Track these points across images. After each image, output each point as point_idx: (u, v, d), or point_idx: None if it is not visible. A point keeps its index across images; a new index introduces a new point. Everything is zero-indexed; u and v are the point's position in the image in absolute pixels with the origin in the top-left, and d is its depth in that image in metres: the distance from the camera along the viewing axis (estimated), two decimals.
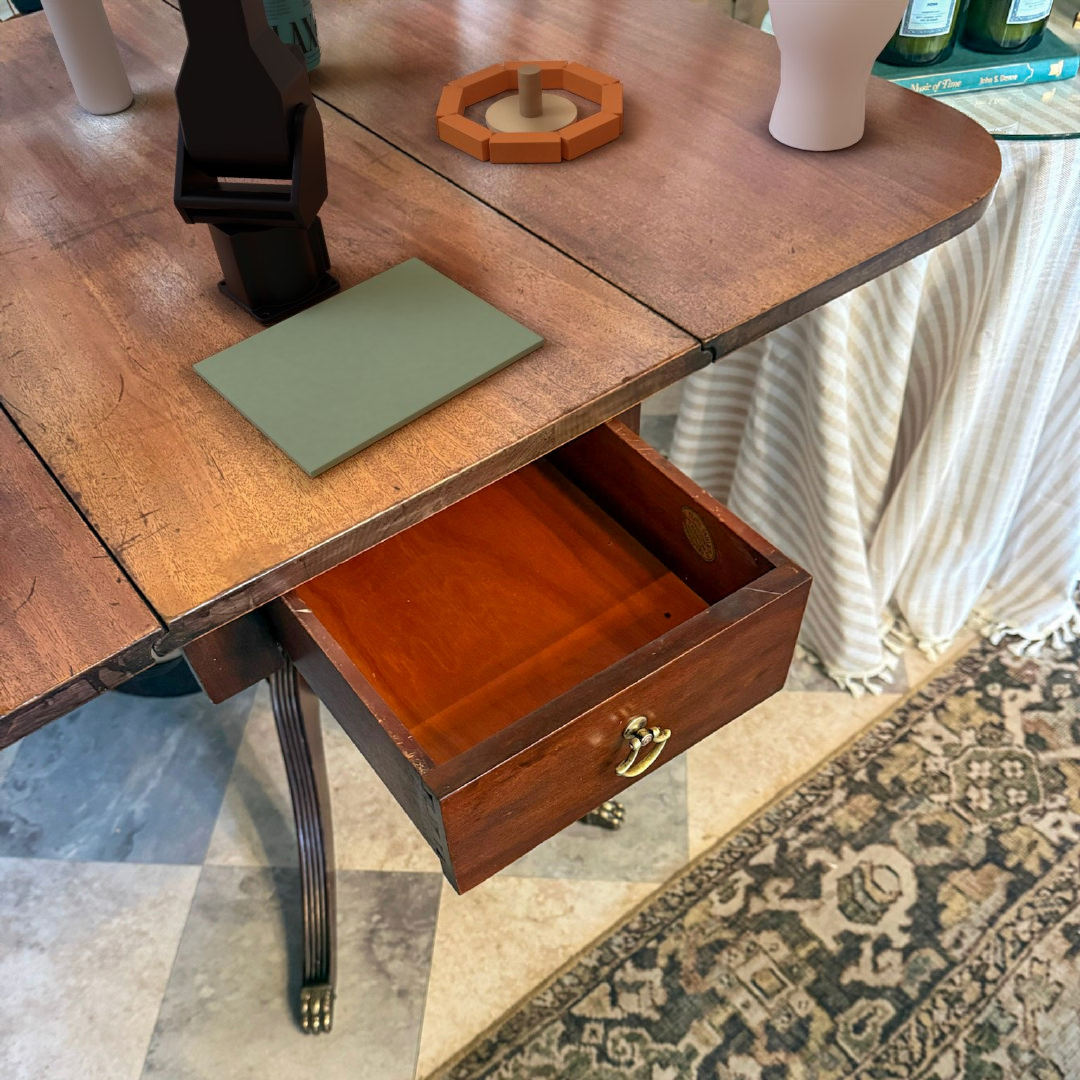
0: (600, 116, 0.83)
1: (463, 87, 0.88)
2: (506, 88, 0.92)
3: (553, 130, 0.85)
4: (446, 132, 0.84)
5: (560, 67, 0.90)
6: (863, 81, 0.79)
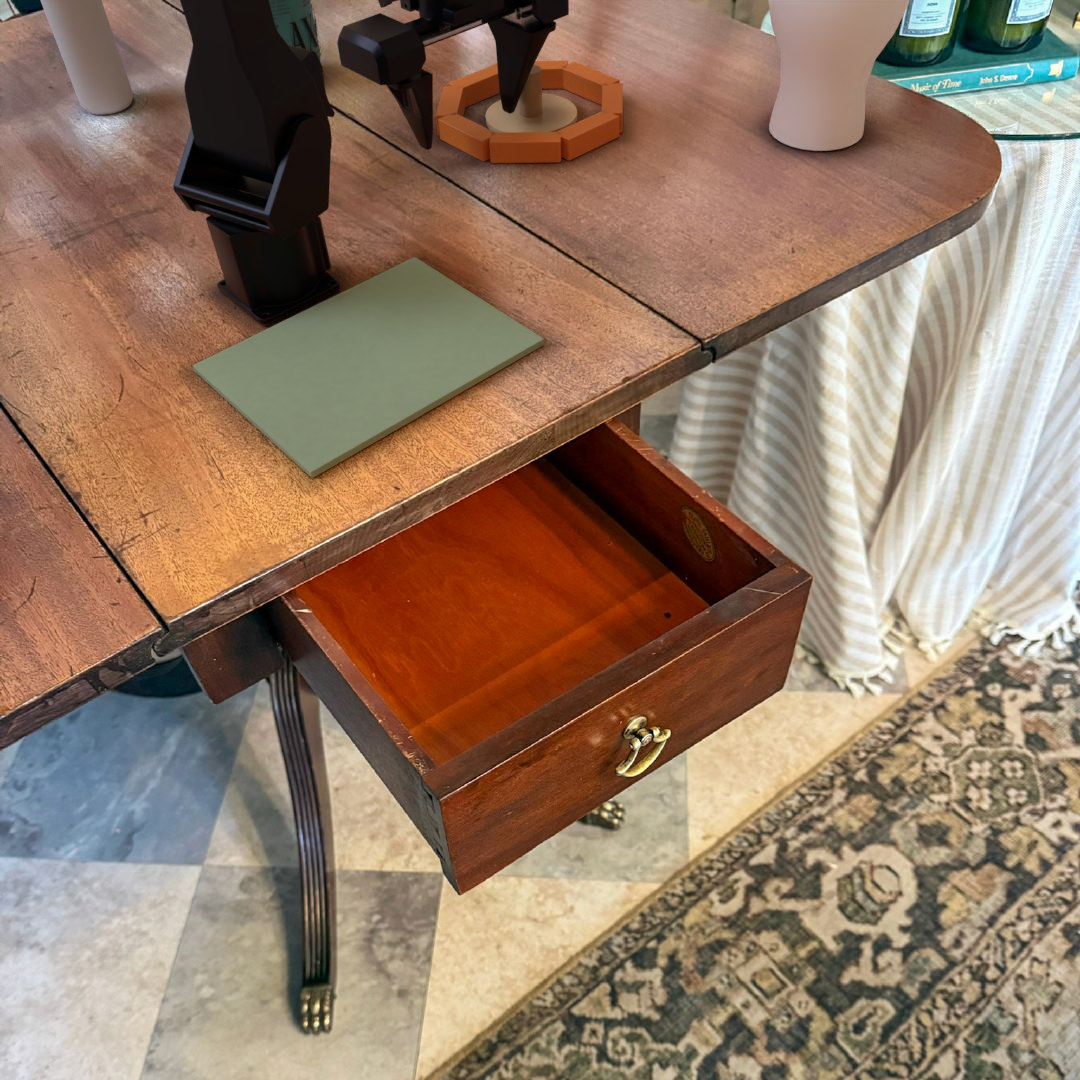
0: (600, 116, 0.83)
1: (463, 87, 0.88)
2: None
3: (553, 130, 0.85)
4: (446, 132, 0.84)
5: (560, 67, 0.90)
6: (863, 81, 0.79)
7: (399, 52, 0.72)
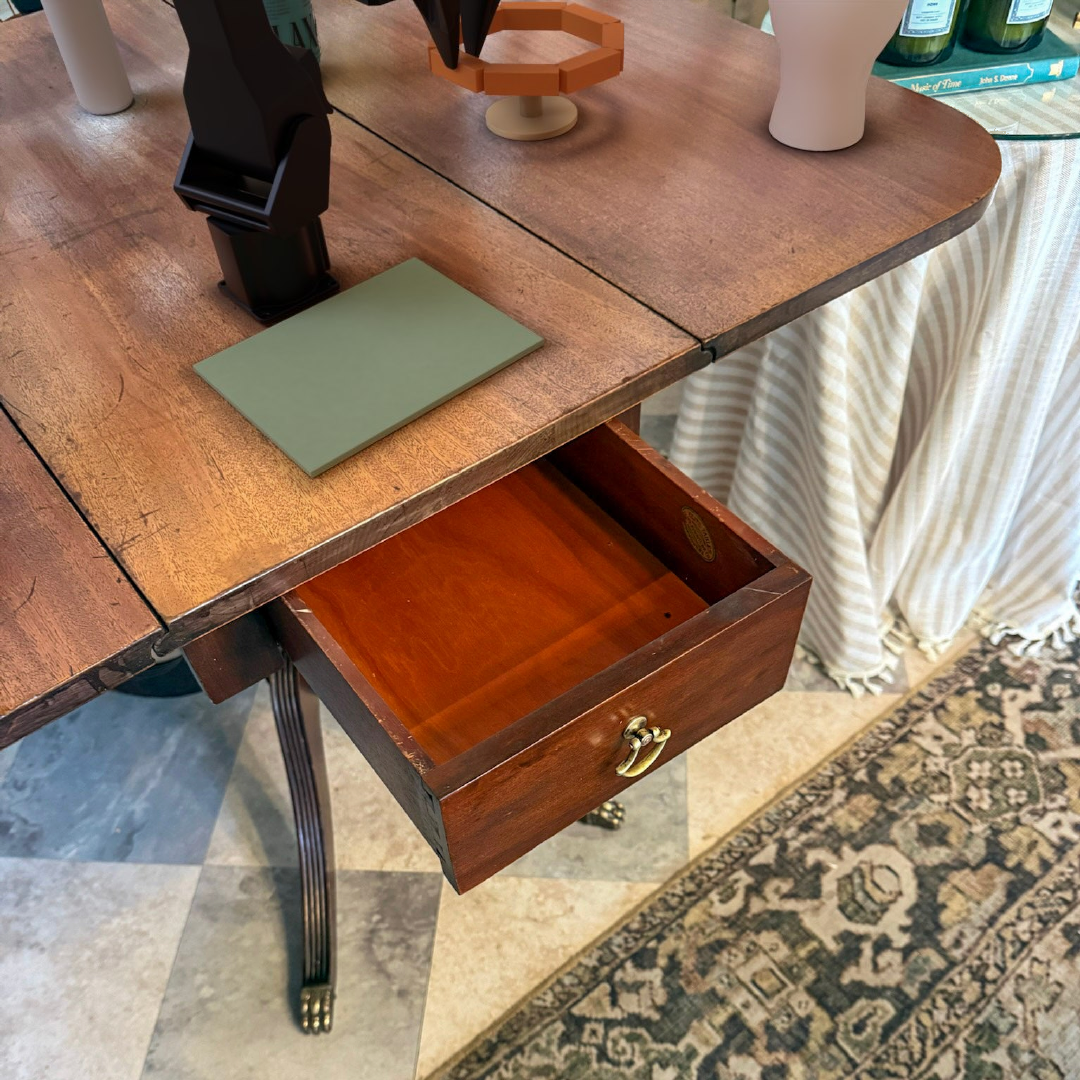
0: (600, 51, 0.80)
1: None
2: (502, 28, 0.88)
3: (553, 130, 0.85)
4: (438, 64, 0.80)
5: (559, 7, 0.87)
6: (863, 81, 0.79)
7: None
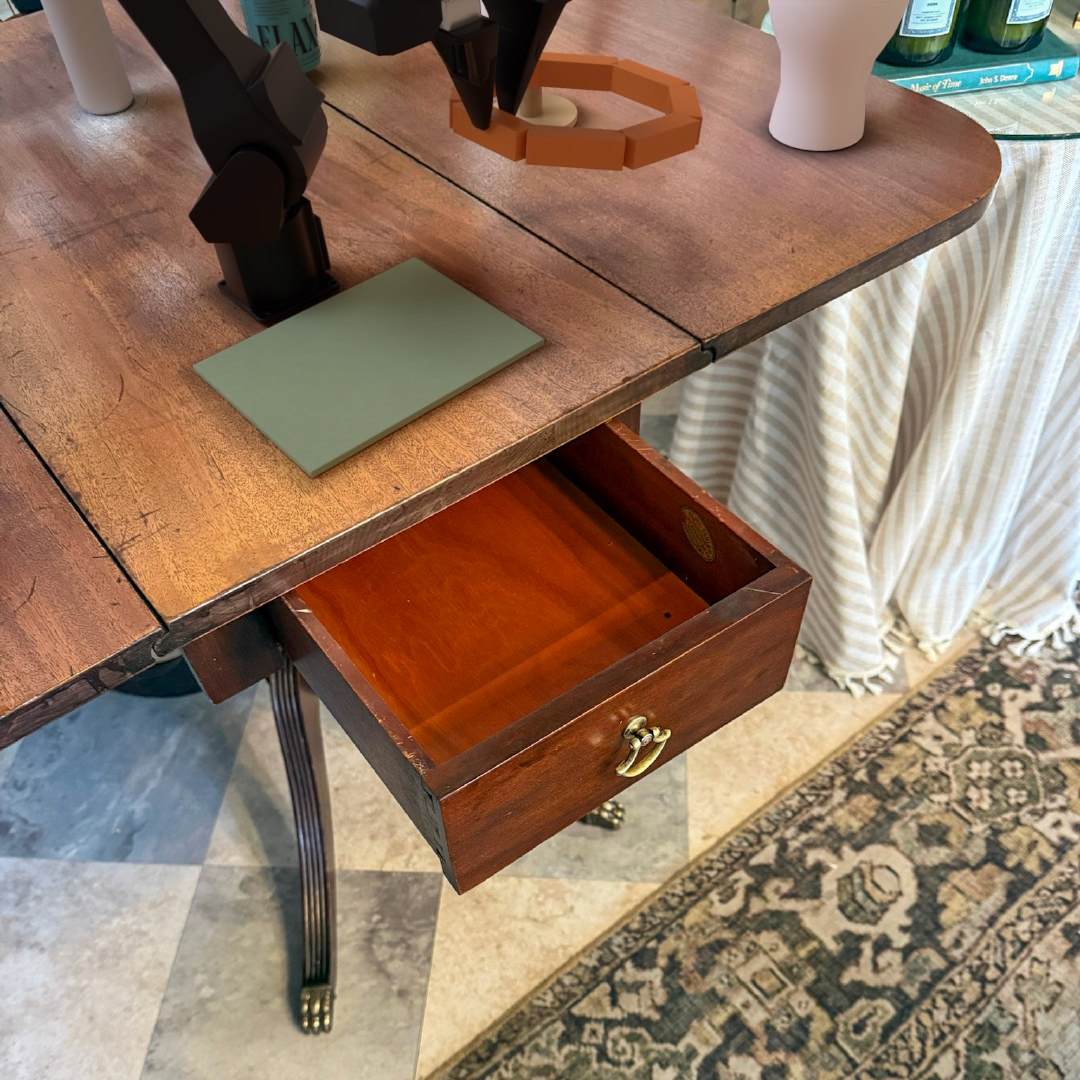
0: (674, 118, 0.62)
1: None
2: (536, 84, 0.70)
3: None
4: (463, 121, 0.62)
5: (609, 63, 0.69)
6: (863, 81, 0.79)
7: (405, 7, 0.49)
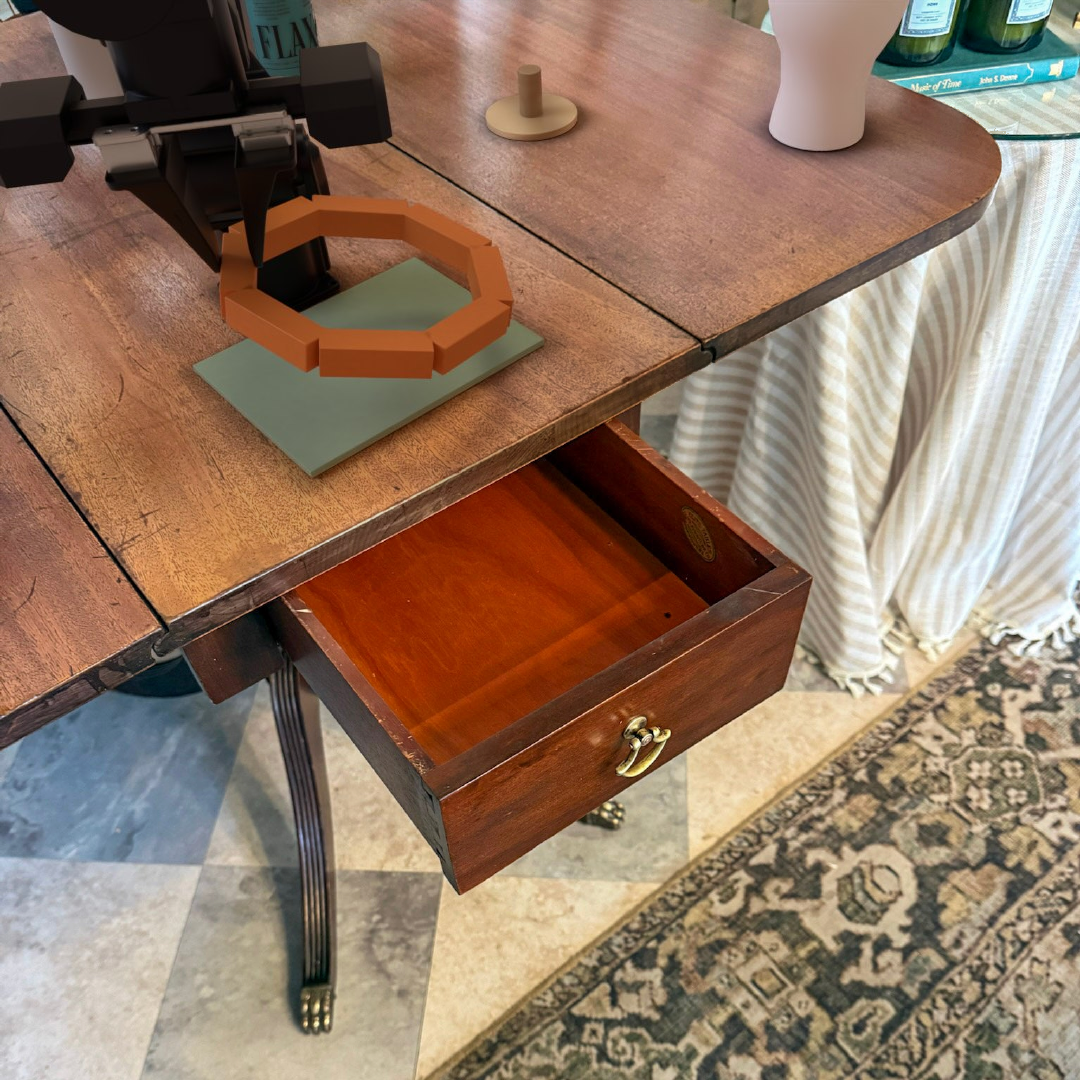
0: (410, 337, 0.52)
1: (320, 209, 0.60)
2: (399, 237, 0.62)
3: (553, 130, 0.85)
4: None
5: (468, 244, 0.60)
6: (863, 81, 0.79)
7: (15, 145, 0.45)
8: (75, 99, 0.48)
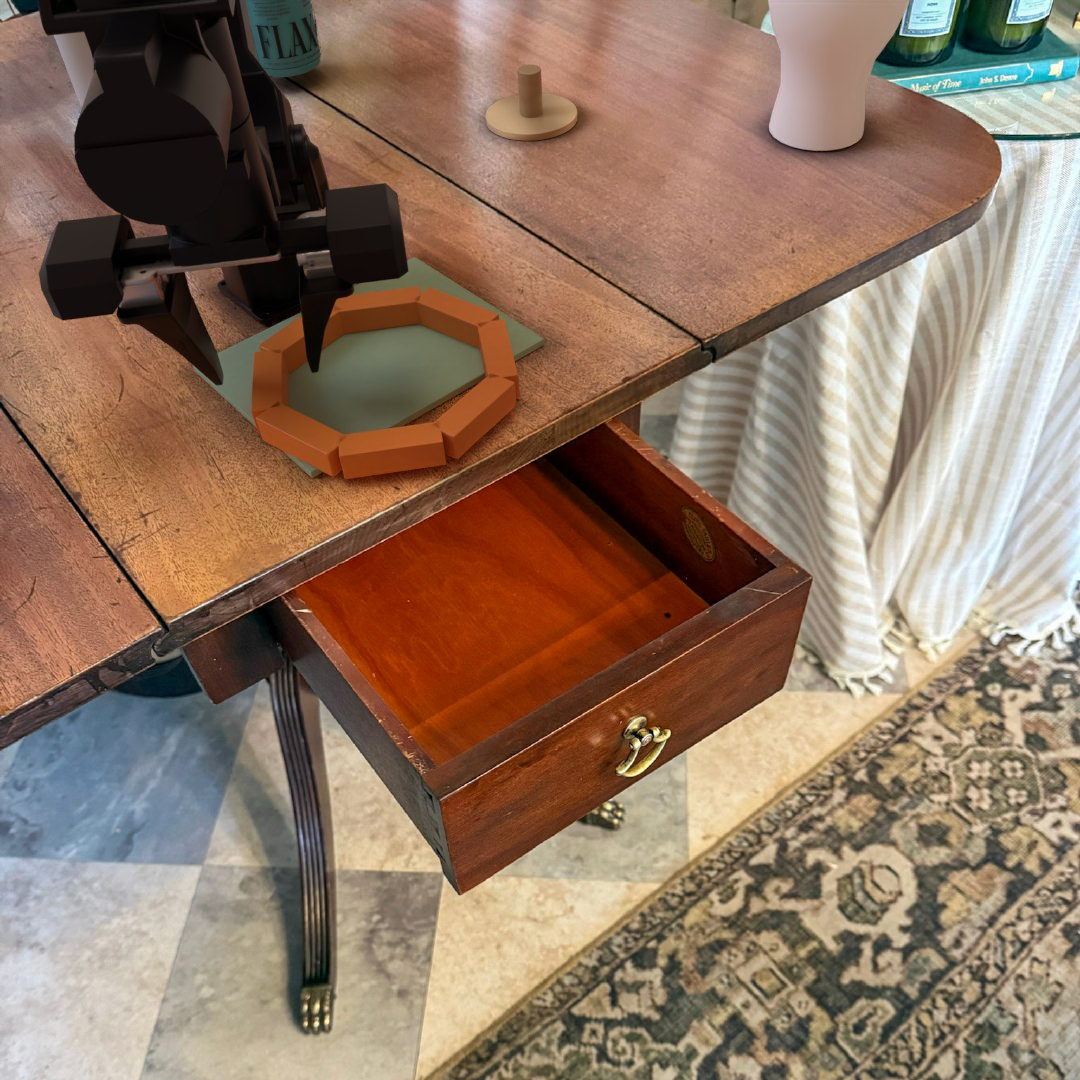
0: (421, 431, 0.57)
1: (340, 311, 0.65)
2: (416, 322, 0.66)
3: (553, 130, 0.85)
4: None
5: (476, 323, 0.63)
6: (863, 81, 0.79)
7: (71, 285, 0.51)
8: (124, 236, 0.54)
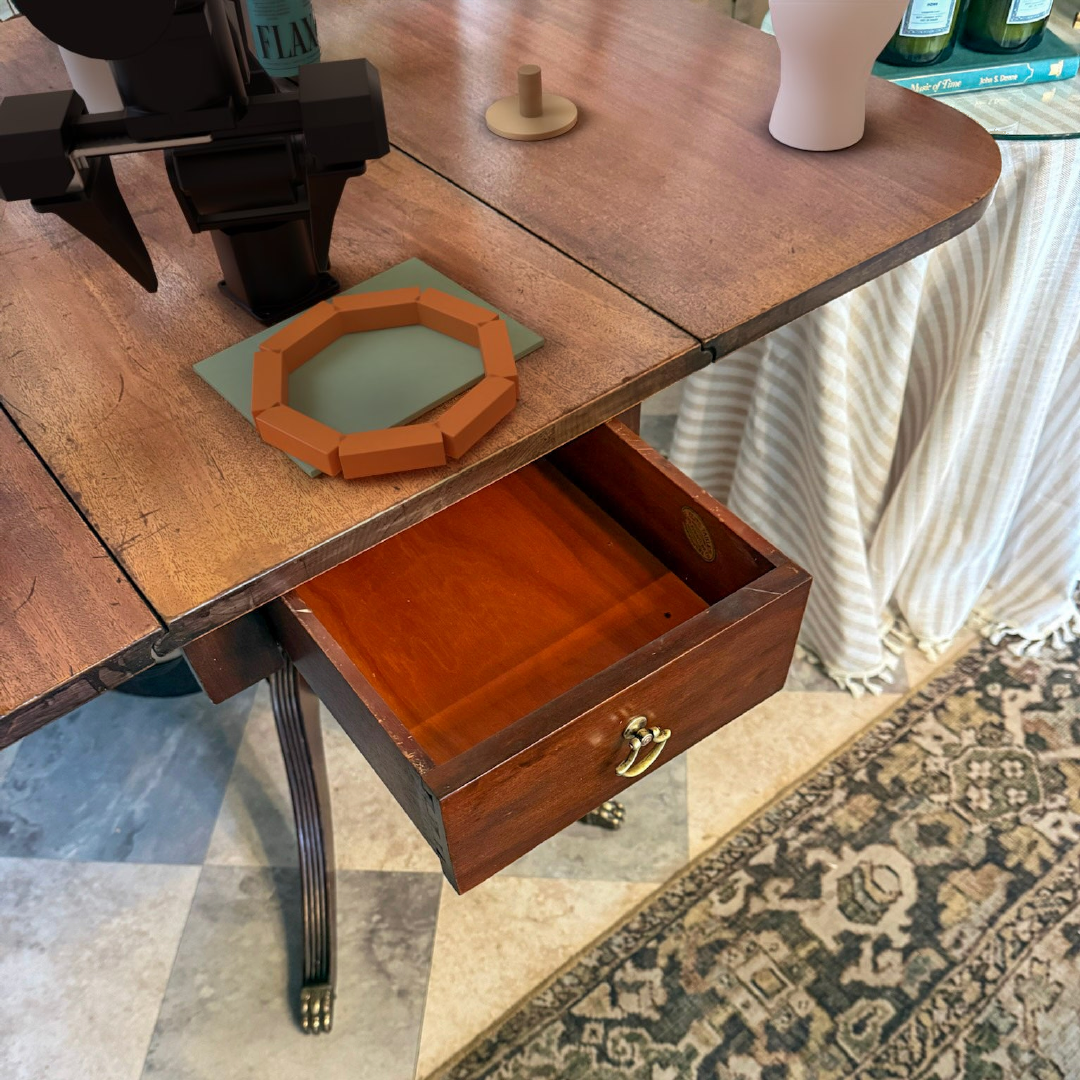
0: (421, 431, 0.57)
1: (340, 311, 0.65)
2: (416, 322, 0.66)
3: (553, 130, 0.85)
4: None
5: (476, 323, 0.63)
6: (863, 81, 0.79)
7: (16, 159, 0.46)
8: (76, 113, 0.49)
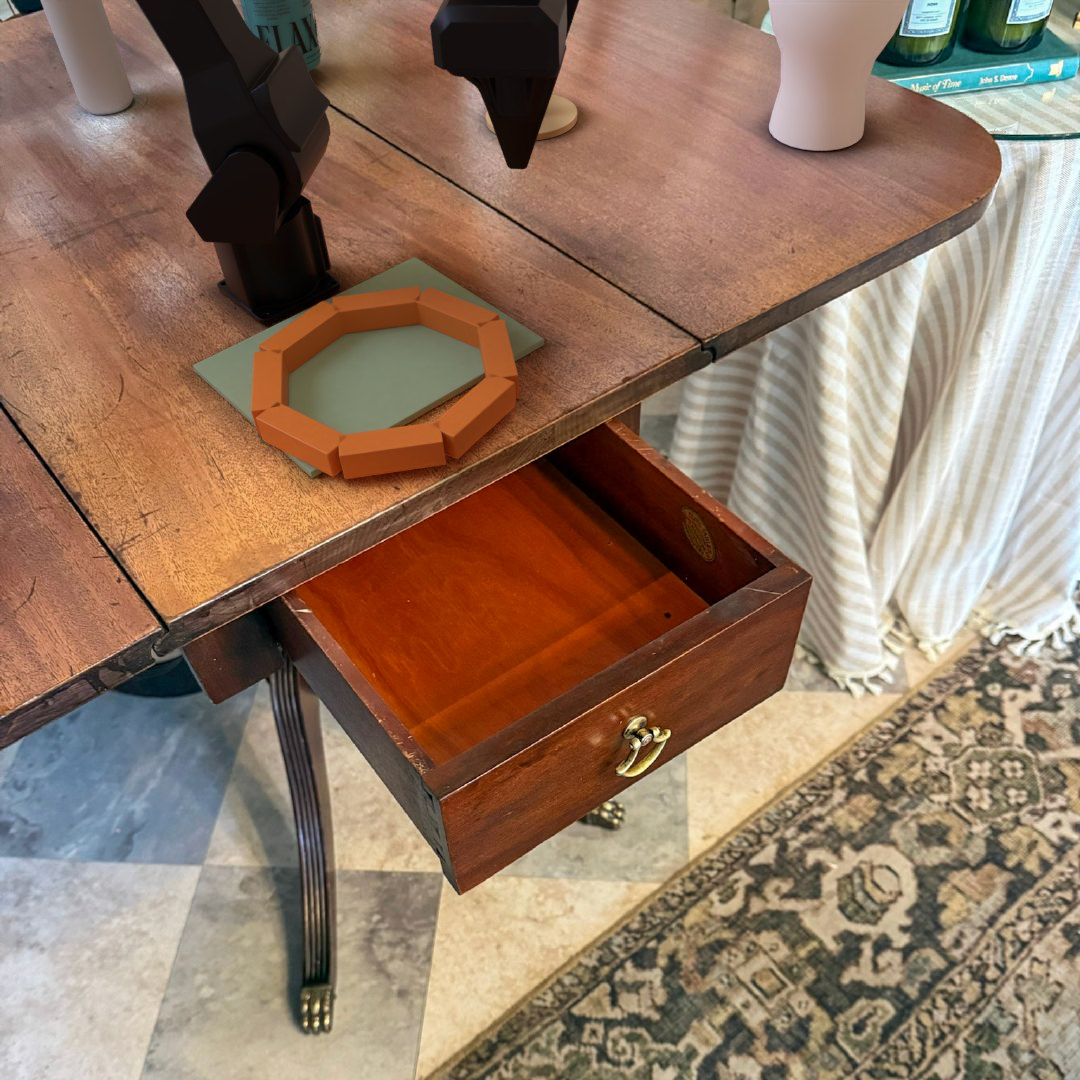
0: (421, 431, 0.57)
1: (340, 311, 0.65)
2: (416, 322, 0.66)
3: (553, 130, 0.85)
4: None
5: (476, 323, 0.63)
6: (863, 81, 0.79)
7: (559, 15, 0.48)
8: None
